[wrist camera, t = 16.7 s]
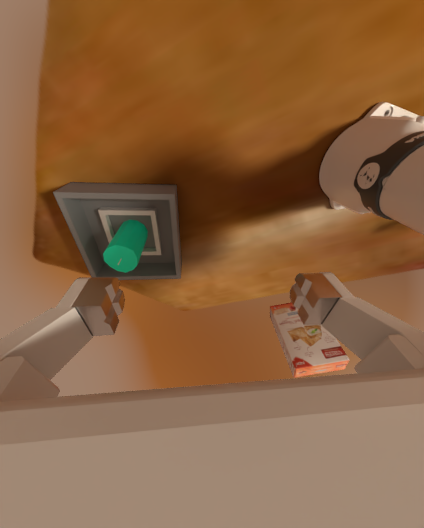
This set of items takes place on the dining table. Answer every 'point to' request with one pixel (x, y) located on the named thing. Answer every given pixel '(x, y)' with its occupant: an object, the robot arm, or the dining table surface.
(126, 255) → the candle
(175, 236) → the walled box
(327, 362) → the cracker box
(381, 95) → the dining table surface
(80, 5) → the dining table surface
